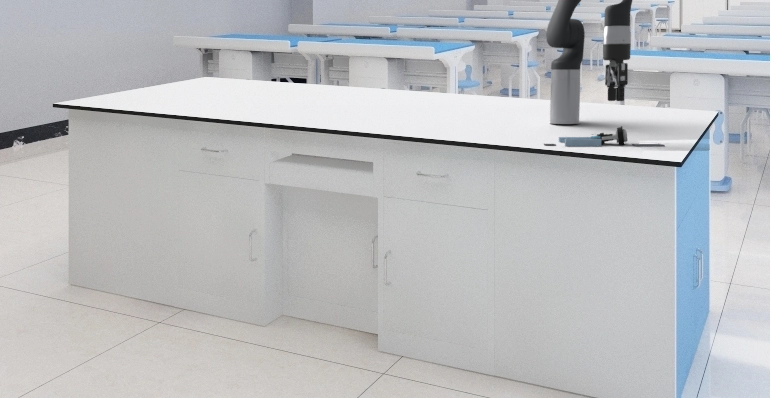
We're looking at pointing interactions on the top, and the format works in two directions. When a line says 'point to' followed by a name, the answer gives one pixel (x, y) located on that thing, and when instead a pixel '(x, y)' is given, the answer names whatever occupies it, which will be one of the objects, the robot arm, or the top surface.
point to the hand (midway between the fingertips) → (615, 101)
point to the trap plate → (550, 144)
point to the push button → (613, 136)
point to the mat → (648, 145)
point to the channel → (580, 141)
